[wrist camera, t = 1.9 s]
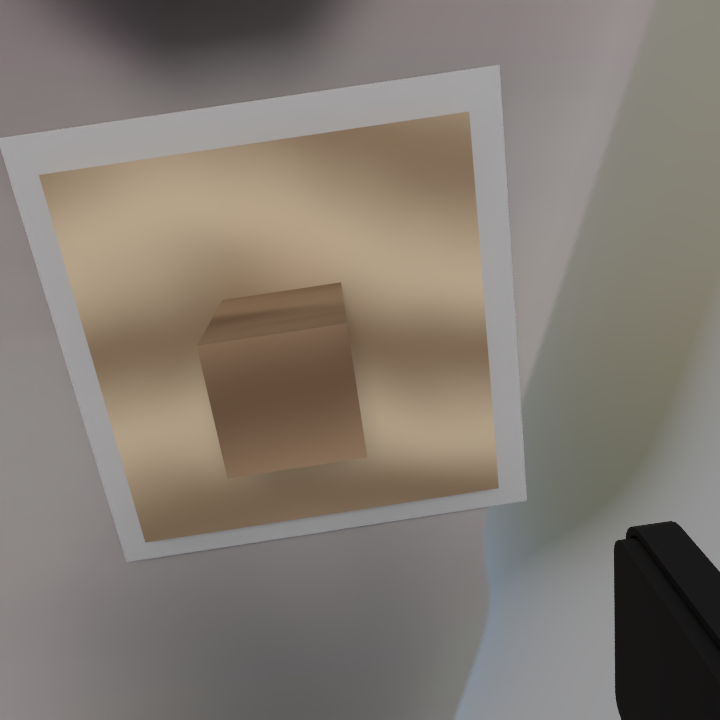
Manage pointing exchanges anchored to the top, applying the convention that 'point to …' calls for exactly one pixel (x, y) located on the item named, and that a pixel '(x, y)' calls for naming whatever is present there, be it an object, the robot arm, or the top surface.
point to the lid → (286, 323)
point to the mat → (262, 124)
